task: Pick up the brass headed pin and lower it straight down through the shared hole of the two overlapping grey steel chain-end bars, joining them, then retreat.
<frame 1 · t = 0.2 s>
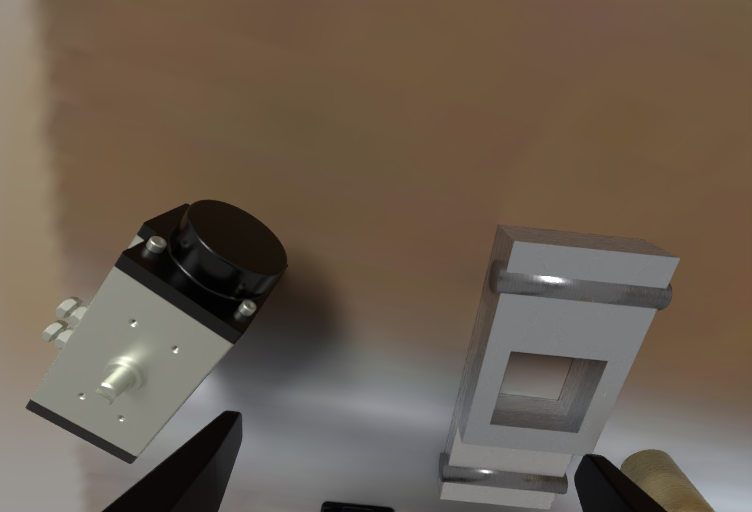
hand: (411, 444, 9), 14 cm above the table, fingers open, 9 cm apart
chain ends: (529, 363, 26), on the table
pneumatic valve: (235, 255, 24), on the table
brass pin: (646, 467, 29), on the table
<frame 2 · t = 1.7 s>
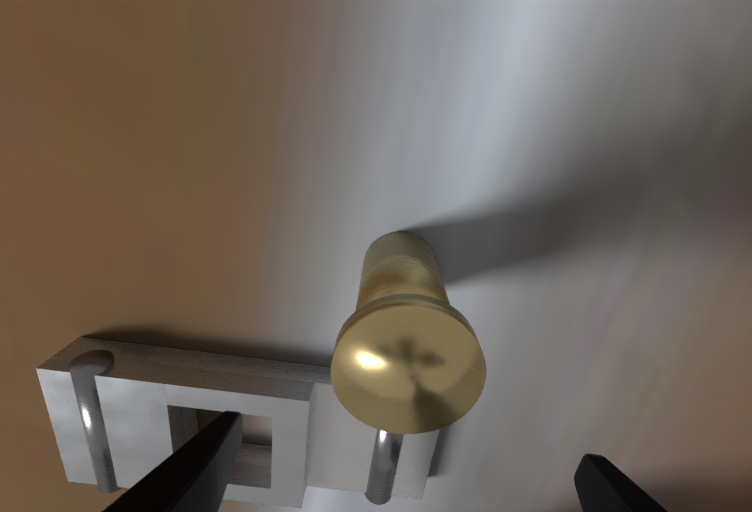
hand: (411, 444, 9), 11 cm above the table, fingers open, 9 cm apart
chain ends: (240, 410, 24), on the table
brass pin: (399, 266, 20), on the table
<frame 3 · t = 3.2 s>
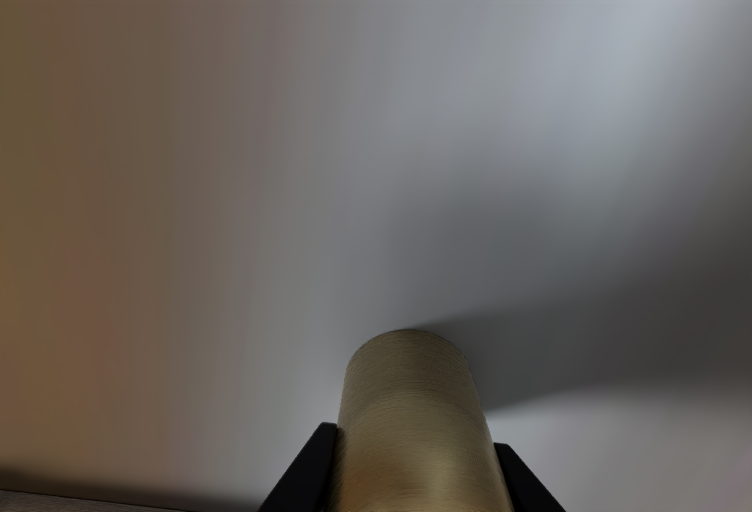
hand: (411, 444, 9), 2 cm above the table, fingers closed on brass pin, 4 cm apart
brass pin: (407, 383, 11), on the table, touching gripper
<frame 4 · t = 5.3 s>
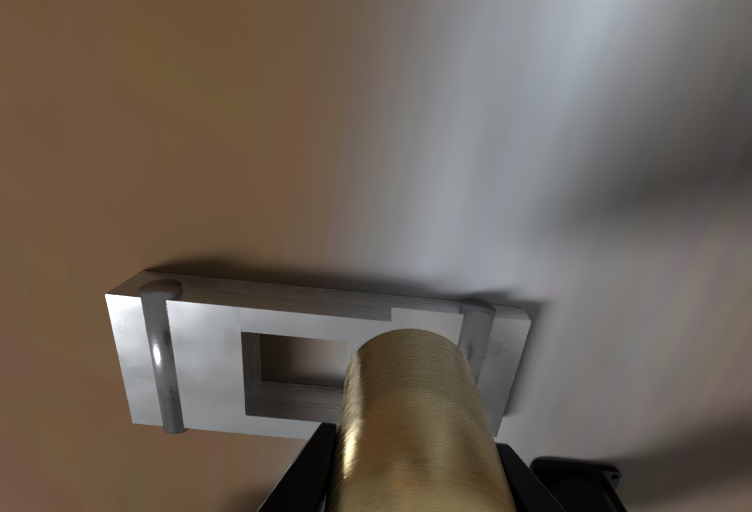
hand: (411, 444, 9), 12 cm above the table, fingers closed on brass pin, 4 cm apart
chain ends: (306, 348, 23), on the table
brass pin: (408, 382, 11), point 10 cm above the table, touching gripper
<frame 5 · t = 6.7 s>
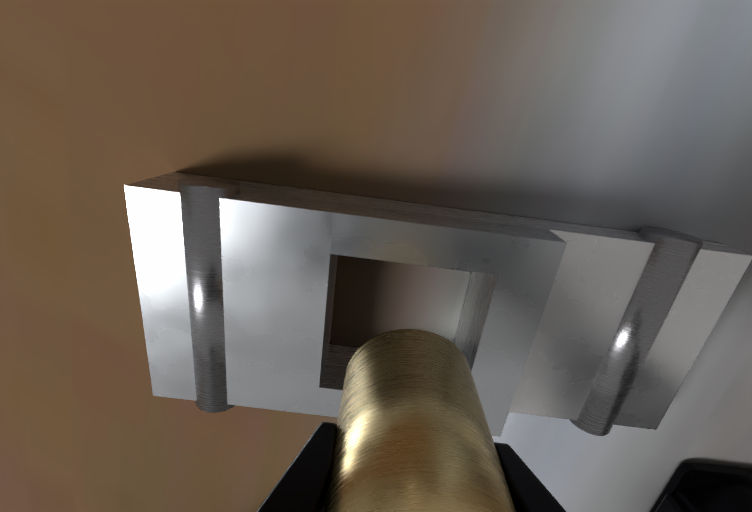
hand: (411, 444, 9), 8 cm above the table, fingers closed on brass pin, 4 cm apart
chain ends: (399, 298, 17), on the table
brass pin: (407, 382, 11), point 6 cm above the table, touching gripper
when the fingers open (5 cm above the table, at t = 7.6 s): brass pin drops 3 cm, resting in chain ends.
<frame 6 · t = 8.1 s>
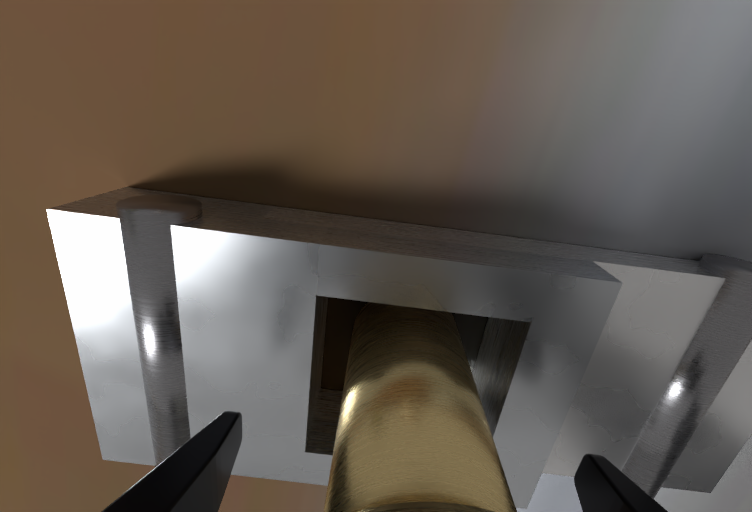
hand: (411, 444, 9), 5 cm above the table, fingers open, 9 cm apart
chain ends: (403, 336, 14), on the table
brass pin: (404, 335, 14), resting in chain ends
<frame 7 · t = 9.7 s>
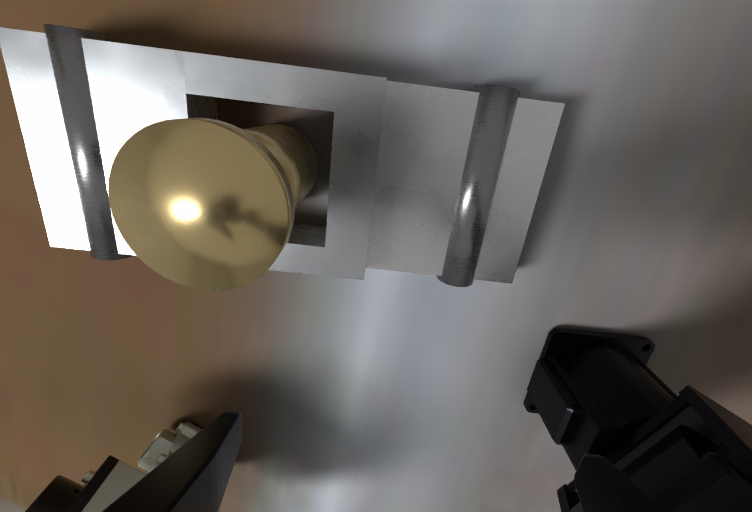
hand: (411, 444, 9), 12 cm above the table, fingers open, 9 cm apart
chain ends: (278, 166, 18), on the table
pneumatic valve: (194, 443, 26), on the table
brass pin: (279, 165, 18), resting in chain ends
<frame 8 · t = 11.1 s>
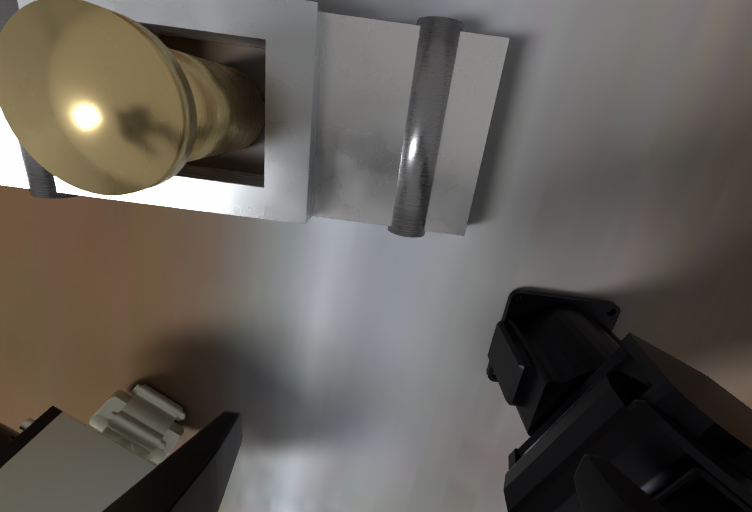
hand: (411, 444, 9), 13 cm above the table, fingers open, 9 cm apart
chain ends: (225, 110, 18), on the table
pneumatic valve: (153, 407, 26), on the table
brass pin: (226, 109, 18), resting in chain ends
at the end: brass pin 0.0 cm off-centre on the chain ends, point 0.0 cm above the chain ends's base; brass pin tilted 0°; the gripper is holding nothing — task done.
